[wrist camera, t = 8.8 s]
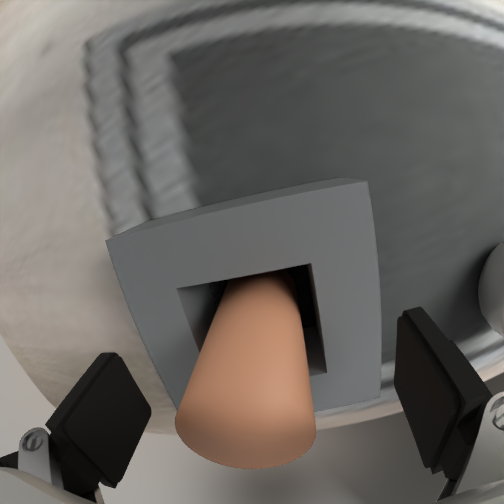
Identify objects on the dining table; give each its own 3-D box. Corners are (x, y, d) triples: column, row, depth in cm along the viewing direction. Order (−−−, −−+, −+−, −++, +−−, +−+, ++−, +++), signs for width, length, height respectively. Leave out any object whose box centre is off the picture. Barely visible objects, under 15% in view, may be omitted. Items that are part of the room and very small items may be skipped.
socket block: (146, 221, 16) (105, 240, 11) (341, 177, 14) (367, 181, 10) (200, 375, 19) (184, 422, 14) (361, 351, 17) (379, 397, 13)
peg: (218, 267, 16) (152, 392, 7) (289, 254, 16) (308, 378, 6) (236, 328, 17) (202, 469, 8) (301, 317, 17) (320, 462, 7)
